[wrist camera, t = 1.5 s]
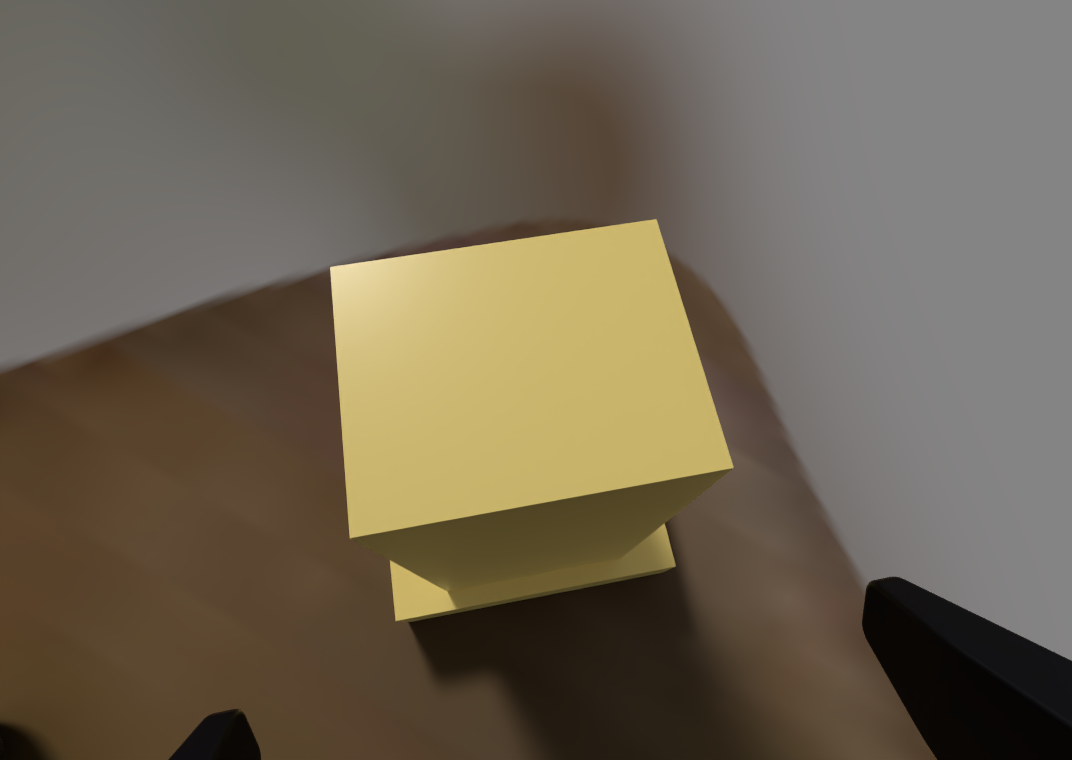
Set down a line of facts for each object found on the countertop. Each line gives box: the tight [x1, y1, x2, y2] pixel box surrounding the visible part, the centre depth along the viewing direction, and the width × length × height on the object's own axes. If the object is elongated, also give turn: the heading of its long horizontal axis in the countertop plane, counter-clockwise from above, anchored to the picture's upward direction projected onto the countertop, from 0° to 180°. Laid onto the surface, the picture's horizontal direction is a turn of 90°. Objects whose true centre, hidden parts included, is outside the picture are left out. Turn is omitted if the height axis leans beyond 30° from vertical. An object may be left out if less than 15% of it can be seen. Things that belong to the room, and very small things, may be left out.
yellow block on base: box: [330, 219, 734, 622], centre depth 15 cm, size 5×8×12 cm, turn 100°
